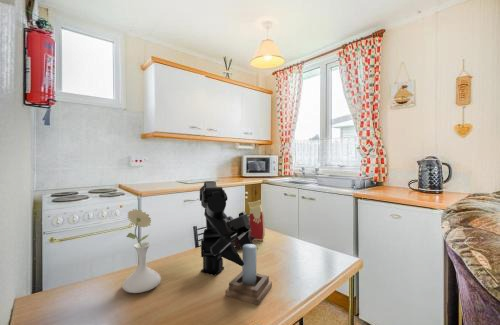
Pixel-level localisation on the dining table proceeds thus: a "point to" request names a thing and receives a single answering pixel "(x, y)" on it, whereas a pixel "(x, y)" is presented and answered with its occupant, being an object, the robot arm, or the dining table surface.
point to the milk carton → (257, 220)
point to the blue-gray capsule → (249, 265)
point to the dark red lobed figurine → (239, 244)
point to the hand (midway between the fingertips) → (249, 259)
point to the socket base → (249, 289)
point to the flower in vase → (140, 259)
